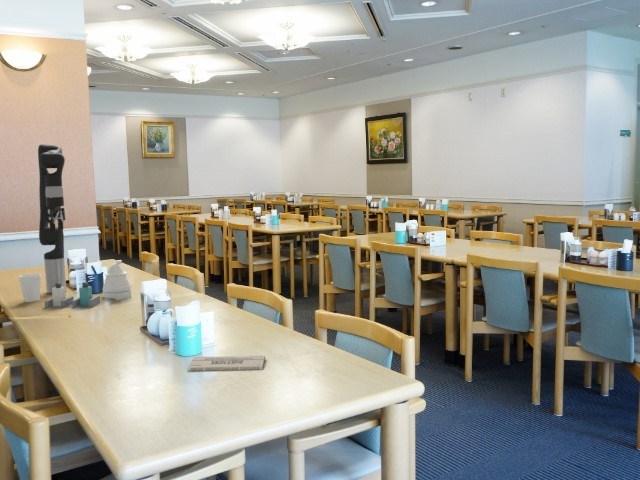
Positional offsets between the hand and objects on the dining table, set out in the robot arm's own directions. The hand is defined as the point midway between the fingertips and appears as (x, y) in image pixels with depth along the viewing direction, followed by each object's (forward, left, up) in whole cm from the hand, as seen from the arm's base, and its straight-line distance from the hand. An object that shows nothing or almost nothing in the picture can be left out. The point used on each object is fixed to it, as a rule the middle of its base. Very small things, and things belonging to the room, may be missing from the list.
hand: (56, 230), depth 270 cm
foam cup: (+4, -12, -33) cm, 36 cm away
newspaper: (+101, +93, -34) cm, 142 cm away
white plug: (+16, +6, -32) cm, 36 cm away
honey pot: (-4, +25, -33) cm, 42 cm away
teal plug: (+16, +18, -32) cm, 40 cm away
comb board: (+16, +12, -33) cm, 39 cm away
